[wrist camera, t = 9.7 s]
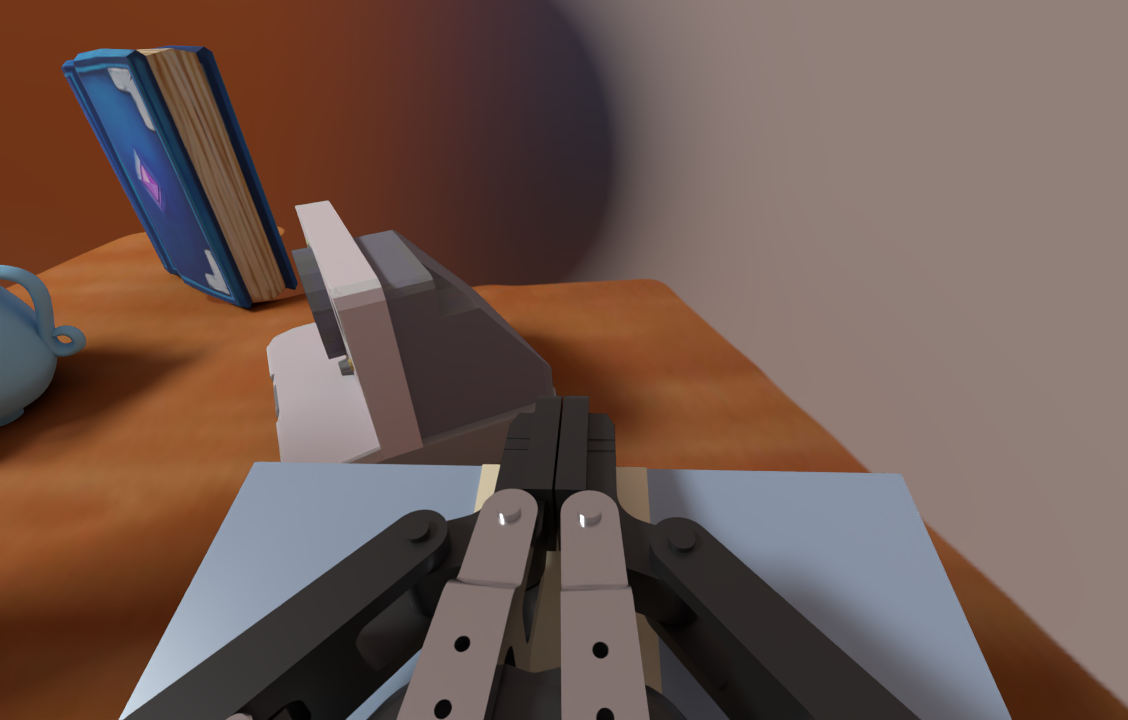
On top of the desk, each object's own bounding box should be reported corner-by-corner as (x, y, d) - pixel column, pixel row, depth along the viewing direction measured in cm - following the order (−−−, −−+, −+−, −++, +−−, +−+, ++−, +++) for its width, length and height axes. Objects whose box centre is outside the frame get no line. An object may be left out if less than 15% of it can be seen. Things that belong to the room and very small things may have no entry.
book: (158, 275, 66) (42, 50, 52) (214, 257, 70) (121, 47, 57) (244, 315, 55) (127, 47, 41) (303, 291, 60) (216, 43, 46)
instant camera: (290, 368, 46) (224, 205, 38) (507, 323, 52) (491, 173, 44) (262, 555, 30) (133, 337, 21) (586, 459, 35) (583, 257, 27)
